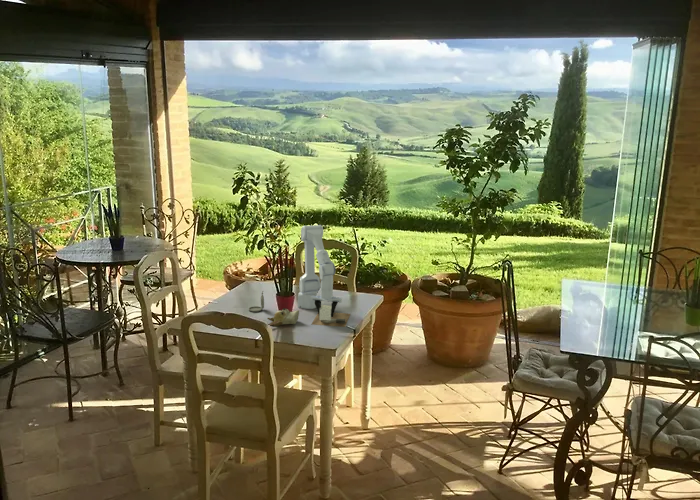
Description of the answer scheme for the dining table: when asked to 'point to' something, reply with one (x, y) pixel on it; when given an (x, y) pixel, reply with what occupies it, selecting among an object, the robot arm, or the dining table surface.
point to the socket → (325, 312)
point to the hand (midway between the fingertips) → (326, 315)
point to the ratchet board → (333, 320)
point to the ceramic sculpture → (284, 317)
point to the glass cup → (256, 308)
